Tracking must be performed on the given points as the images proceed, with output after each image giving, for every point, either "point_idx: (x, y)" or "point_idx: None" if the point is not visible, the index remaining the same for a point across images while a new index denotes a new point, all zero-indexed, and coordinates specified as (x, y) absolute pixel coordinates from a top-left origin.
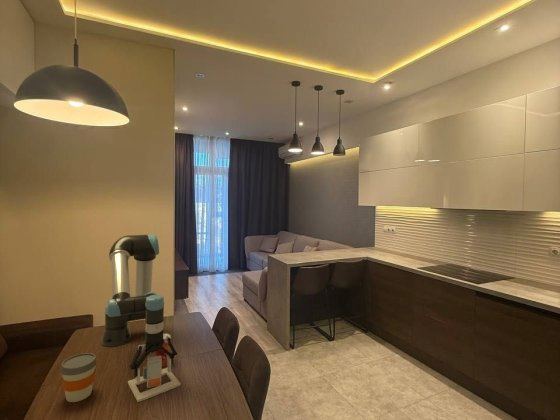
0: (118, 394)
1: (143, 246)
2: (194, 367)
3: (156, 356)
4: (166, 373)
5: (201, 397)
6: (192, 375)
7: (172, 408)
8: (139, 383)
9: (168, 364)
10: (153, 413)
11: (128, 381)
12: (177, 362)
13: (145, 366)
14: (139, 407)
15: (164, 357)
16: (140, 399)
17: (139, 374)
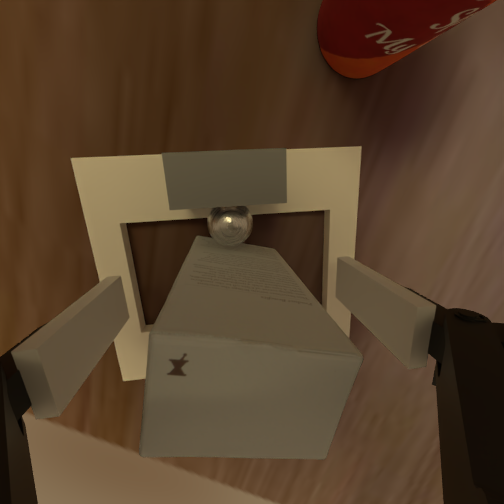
0: (22, 254)
1: None
2: (478, 227)
3: (296, 362)
4: (327, 208)
5: (372, 450)
6: (427, 296)
7: (256, 462)
8: (126, 319)
9: (366, 302)
10: (183, 459)
11: (75, 166)
12: (441, 95)
13: (189, 154)
14: (133, 406)
15: (400, 47)
16: (138, 376)
17: (90, 368)
